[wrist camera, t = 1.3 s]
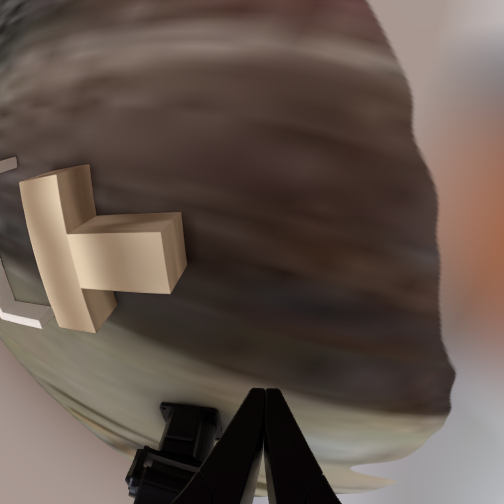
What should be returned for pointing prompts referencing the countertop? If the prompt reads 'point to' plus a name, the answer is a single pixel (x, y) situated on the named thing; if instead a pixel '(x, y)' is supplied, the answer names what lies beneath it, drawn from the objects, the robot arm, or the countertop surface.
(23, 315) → the bracket
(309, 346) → the countertop surface
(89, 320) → the t block
